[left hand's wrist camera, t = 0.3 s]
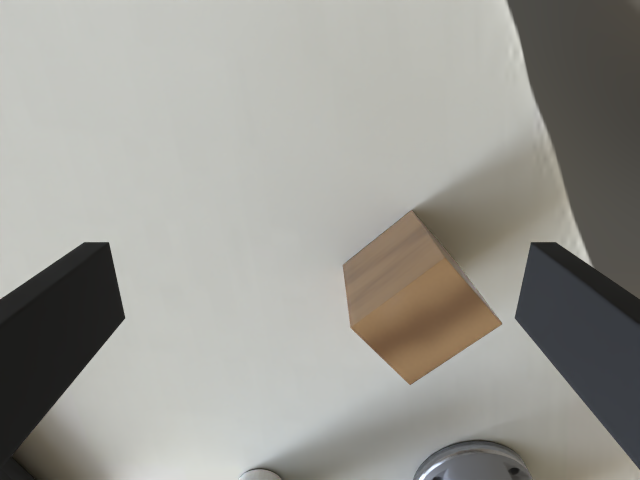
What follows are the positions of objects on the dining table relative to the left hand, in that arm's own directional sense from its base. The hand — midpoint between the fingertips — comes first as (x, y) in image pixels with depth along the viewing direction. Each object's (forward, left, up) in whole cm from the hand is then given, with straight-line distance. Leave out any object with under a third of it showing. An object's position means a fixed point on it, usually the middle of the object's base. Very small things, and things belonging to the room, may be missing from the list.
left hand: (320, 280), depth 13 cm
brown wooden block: (-13, -6, -26) cm, 30 cm away
